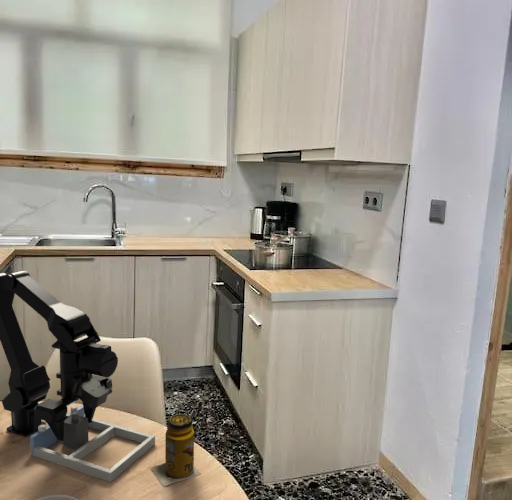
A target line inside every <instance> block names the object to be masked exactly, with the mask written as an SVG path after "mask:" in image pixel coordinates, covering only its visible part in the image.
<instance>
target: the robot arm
mask: <svg viewBox="0 0 512 500" xmlns="http://www.w3.org/2000/svg"><path fill="white" fill-rule="evenodd" d="M15 296H18V297H19V299H21V300H22V301H23V302H24V303H26V304H27V306H29V307H30V308H31V309H32V310H33V311H35V312H36V313H37V314H38V315H39V316H40V317H42V318H43V319H44V320H45V322H46V323H47V328H48V329H47V330H48V331H49V332H50V333H51V334H52V336H54V337H55V339H56V341H55V342H54V343H52V345H51V347H52V349H57V350H59V372H57V373H56V374H55V377H56V379H59V380H60V388H59V389H57V390H56V395H57V396H60V397H61V399H58V400H56V399H52V398H48V399H46V398H47V395H48V393H49V390H50V388H51V383H50V381H51V378H50V377H49V375H48V373H47V368H46V367H45V365H44V364H43V365H38V364H37V363H35V362H34V361H33V359H32V355H31V353H30V351H29V347H28V345H27V342H26V339H25V338H24V337H25V336H24V334H23V332H22V330H21V329H22V328H21V326H20V324H19V321H18V318H17V315H16V313H15V310H14V308H13V304H14V299H15ZM85 336H86V338H83V337H85ZM80 338H83V339H80ZM78 339H79V340H78ZM76 340H78V341H76ZM101 341H102V340H101V338H100V336H99V332H98V331H96V329H95V327H94V325H93V323H92V322H91V319H90V317H89V316H88V314H86V312H83V311H82V310H80V309H78V308H77V307H74V306H71V305H68V304H64V303H62V302H61V301H60V300H58V299H57V298H56V297H55V296H54V295H52V294H51V293H50V292H49V291H47V290H46V288H44V287H43V286H42V285H41V284H40V283H38V282H37V281H36V280H35V279H33V278H32V277H31V275H30V273H29V272H28V271H27V270H18V271H17V270H16V271H13V272H8V273H5V272H2V271H1V272H0V343H1V346H2V349H3V351H4V354H5V358H6V360H7V363H8V365H9V367H10V368H9V369H10V374H9V378H8V384H7V385H8V387H9V393H8V394H7V395H6V396H5V397H4V398H3V399H2V400H1V404H2V408H3V409H4V410H5V411H9V412H10V415H11V416H10V417H11V425H10V426H8V427H6V431H7V432H9V433H10V432H11V433H14V434H16V435H19V436H23V437H27V436H29V435H32V434H33V433H35V432H36V431H37V430H38V426H40V425H46V424H47V425H46V426H48V425H49V427H50V428H51V430H52V431H53V433H54V435H55V436H56V438H57V439H58V441H57V442H62V443H63V438H64V421H65V420H66V419H67V418H68V416H66V415H67V414H68V407H69V406H71V405H73V404H74V403H76V402H78V401H81V402H82V406H83V408H84V413H85V417H87V418H88V423H91V422H92V419H93V418H94V416H95V412H96V410H97V408H98V407H99V406H100V405H103V404H104V403H106V402H107V399H108V396H109V395H111V394H112V393H113V381H112V378H110V377H111V376H113V374H114V373H115V372H116V369H117V367H118V362H119V361H118V360H119V358H118V357H117V356H118V355H117V354H116V352H115V351H113V350H112V346H111V345H108V344H100V342H101Z"/></svg>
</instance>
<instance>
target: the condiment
mask: <svg viewBox="0 0 512 500" xmlns="http://www.w3.org/2000/svg"><path fill="white" fill-rule="evenodd" d="M164 441H165V452H164V453H165V460H164V461H165V462H164V463H161V464H159V465H158V464H157V465H154V466H151V467H150V469H151V470H152V472H153V473H154V475H155V476H156V478H157V480H158V481H159V482H160V483H161V485H162V486H163V487H167V486H169V485H172V484H175V483H177V482H181V481H185V480H188V479H191V478H193V477H196V476H199V475H200V474H201V471H199V470H198V469H197V468H196V466H194V461H195V460H194V459H195V449H194V448H195V430H194V429H193V418H192V417H191V416H190V415H188V414H184V413H178V414H173V415H171V416H170V417H169V418H168V420H167V427H166V431H165V440H164Z"/></svg>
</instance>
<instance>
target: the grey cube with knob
mask: <svg viewBox="0 0 512 500" xmlns="http://www.w3.org/2000/svg"><path fill="white" fill-rule="evenodd" d="M88 442H89V427H88V418H87V417H83V416H80V415H79V413H78V412H73V413H71V416H70V417H69V418H67V419H66V420H65V421H64V438H63V441H62V446H63V447H65V448H69V449H72V450H74V451H76V450H78V449H79V448H81V447H82V446H83V445H85V444H86V443H88Z"/></svg>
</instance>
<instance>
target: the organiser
mask: <svg viewBox="0 0 512 500" xmlns="http://www.w3.org/2000/svg"><path fill="white" fill-rule="evenodd" d="M73 412H78V413H79V415H80V416H83V417H85V413H84V408H83V405H80V406H76V405H73V406H70V412H67V414H66V416H68V418H69V417H70V416H71V413H73ZM88 428H90V429H94V430H98V431H101V433H99V434H98V435H96V436H95V437H93V438H91V440H88V442H87V443H86V444H84V445H83V446H81V447H80V448H79V449H77V450H74V452H72V453H71V454H69V455H67V454H64V453H61V452H58V451H56V450H52V449H50V448H49V447H51V446H52V445H54V444H55V443H57V442H59V441H58V439H57V438H56V436H55V435H54V433H53V431H52V430H51V428H50V427H49V425H48V424H47V425H40V426H38V431H37V432H36V431H35V432H34V434H33V433H32V434H30V436H29V438H30V439H29V440H30V441H29V443H30V445H29V447H30V455H31V456H32V457H33V456H34V457H37V458H39V459H41V460H45V461H48V462H50V463H53V464H57V465H60V466H62V467H64V468H68V469H71V470H74V471H76V472H80V473H82V474H86V475H89V476H91V477H95V478H99V479H101V480H103V481H107V482H109V483H111V482H112V481H113V480H115V479H116V478H117V477H118V476H119V475H120V474H122V473H123V472H124V471H125V470H126V469H128V468H129V467H130V466H131V465H133V463H134V462H135V461H137V460H138V459H139V458H140V457H142V456H143V455H144V454H145V453H146V452H148V451H149V450H150V449H151V448H152V447H154V446H155V445H156V435H153V434H150V433H147V432H143V431H140V430H139V431H138V430H135V429H133V428H129V427H125V426H121V425H118V424H115V423H111V422H108V421H103V420H100V419H96V418H95V417H93V419H92V422H91V423H88ZM113 436H118V437H121V438H124V439H128V440H131V441H135V442H139V443H140V444H139V445H137V446H136V447H135V448H134V449H133V450H131V451H130V452H129V453H128V454H126V455H125V456H124V457H123V458H122V459H121V460H120V459H119V461H118V462H117V463H115V464H114V465H113V466H112V467H110V468H107V467H104V466H101V465H97V464H95V463H92V462H89V461H85V460H82V459H83V458H85V457H86V456H87V455H89V454H90V453H91V452H93V451H94V450H96V449H97V448H99V447H100V446H101V445H102V444H104V443H105V442H106V441H108V440H109V439H111V438H112V437H113Z"/></svg>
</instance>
